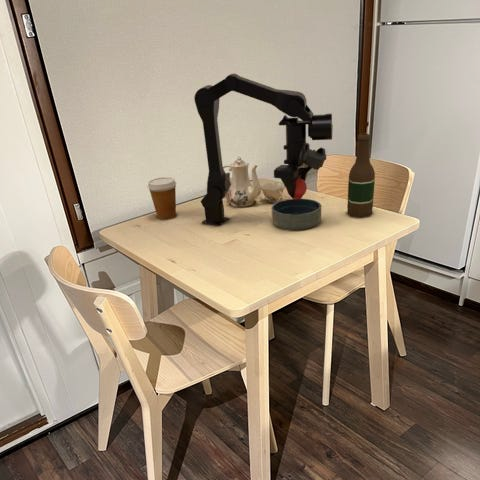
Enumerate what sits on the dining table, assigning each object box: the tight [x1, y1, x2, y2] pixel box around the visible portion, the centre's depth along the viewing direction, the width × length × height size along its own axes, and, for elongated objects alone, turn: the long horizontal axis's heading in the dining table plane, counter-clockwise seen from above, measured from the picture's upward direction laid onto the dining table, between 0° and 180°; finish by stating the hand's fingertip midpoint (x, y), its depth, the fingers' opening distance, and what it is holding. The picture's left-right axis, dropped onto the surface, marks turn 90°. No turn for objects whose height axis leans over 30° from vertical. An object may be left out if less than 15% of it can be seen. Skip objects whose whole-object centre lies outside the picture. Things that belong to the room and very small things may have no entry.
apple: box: [286, 178, 308, 199], centre depth 147 cm, size 6×6×7 cm
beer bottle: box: [346, 132, 376, 218], centre depth 148 cm, size 8×8×24 cm
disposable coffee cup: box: [147, 176, 177, 220], centre depth 163 cm, size 10×10×12 cm
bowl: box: [270, 198, 323, 231], centre depth 151 cm, size 15×15×5 cm
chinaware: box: [223, 155, 286, 208], centre depth 170 cm, size 28×17×17 cm, turn 58°
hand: (296, 194), depth 148 cm, fingers closed on apple, 6 cm apart
